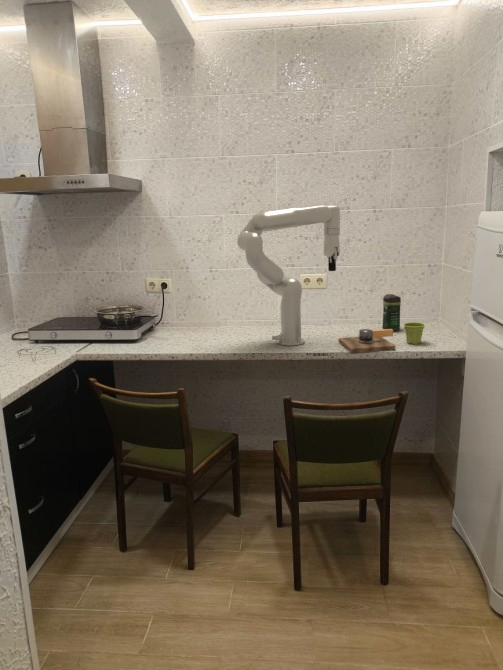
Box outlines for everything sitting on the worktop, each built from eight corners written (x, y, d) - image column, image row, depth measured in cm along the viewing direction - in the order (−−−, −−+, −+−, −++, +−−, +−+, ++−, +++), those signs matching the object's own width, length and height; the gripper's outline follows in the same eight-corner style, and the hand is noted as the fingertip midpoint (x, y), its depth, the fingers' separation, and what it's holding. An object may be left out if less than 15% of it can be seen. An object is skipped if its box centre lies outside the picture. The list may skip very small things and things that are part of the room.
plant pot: (406, 345, 220) (407, 327, 217) (400, 340, 229) (401, 322, 227) (427, 344, 219) (427, 326, 217) (420, 339, 228) (420, 321, 226)
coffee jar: (402, 331, 246) (403, 295, 241) (386, 332, 245) (387, 296, 241) (395, 327, 255) (396, 292, 251) (380, 328, 255) (381, 293, 250)
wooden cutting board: (351, 353, 211) (351, 346, 211) (338, 342, 231) (338, 336, 230) (395, 350, 213) (395, 343, 212) (378, 339, 232) (378, 333, 232)
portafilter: (356, 337, 225) (356, 329, 224) (388, 335, 226) (388, 326, 225) (362, 341, 217) (362, 333, 216) (395, 339, 218) (395, 330, 217)
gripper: (319, 232, 235) (319, 270, 240) (330, 233, 221) (330, 272, 226) (333, 231, 237) (333, 269, 241) (345, 232, 223) (345, 271, 227)
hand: (332, 270), depth 233 cm, fingers closed
